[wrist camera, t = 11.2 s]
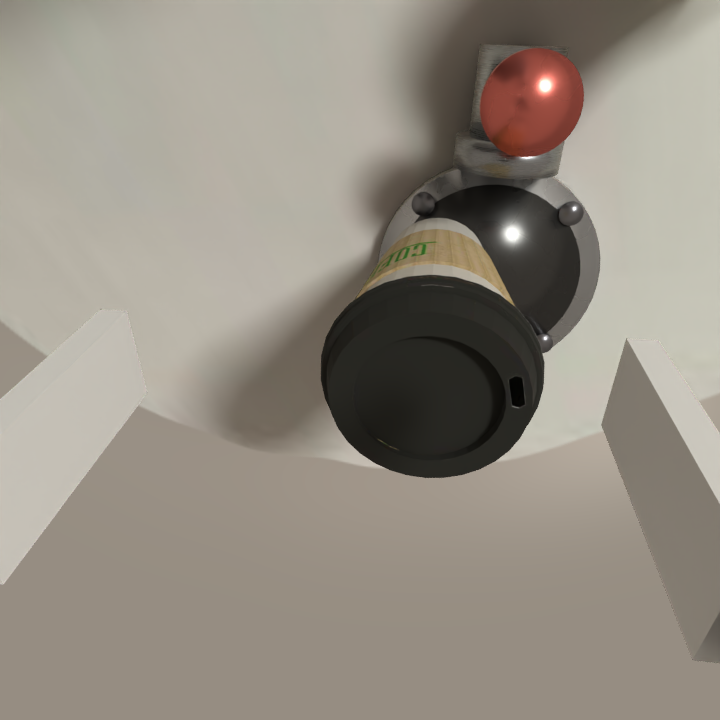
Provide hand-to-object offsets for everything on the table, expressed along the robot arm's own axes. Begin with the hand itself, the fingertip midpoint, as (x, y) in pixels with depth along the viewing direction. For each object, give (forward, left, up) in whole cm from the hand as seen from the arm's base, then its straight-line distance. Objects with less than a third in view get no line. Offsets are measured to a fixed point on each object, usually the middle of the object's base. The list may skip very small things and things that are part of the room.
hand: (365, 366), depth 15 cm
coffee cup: (+5, +2, -22) cm, 22 cm away
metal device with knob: (+3, +5, -24) cm, 24 cm away
